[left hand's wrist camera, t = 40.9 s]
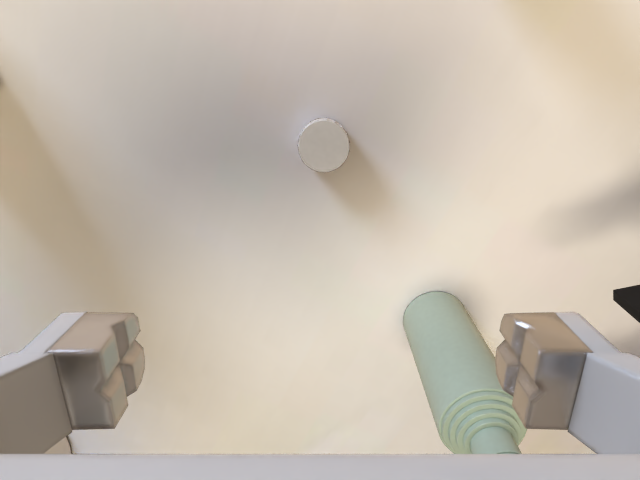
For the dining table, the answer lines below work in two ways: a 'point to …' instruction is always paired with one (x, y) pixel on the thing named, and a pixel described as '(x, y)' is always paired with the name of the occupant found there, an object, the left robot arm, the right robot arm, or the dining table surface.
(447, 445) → the bottle
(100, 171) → the dining table surface
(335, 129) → the cap
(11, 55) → the dining table surface
